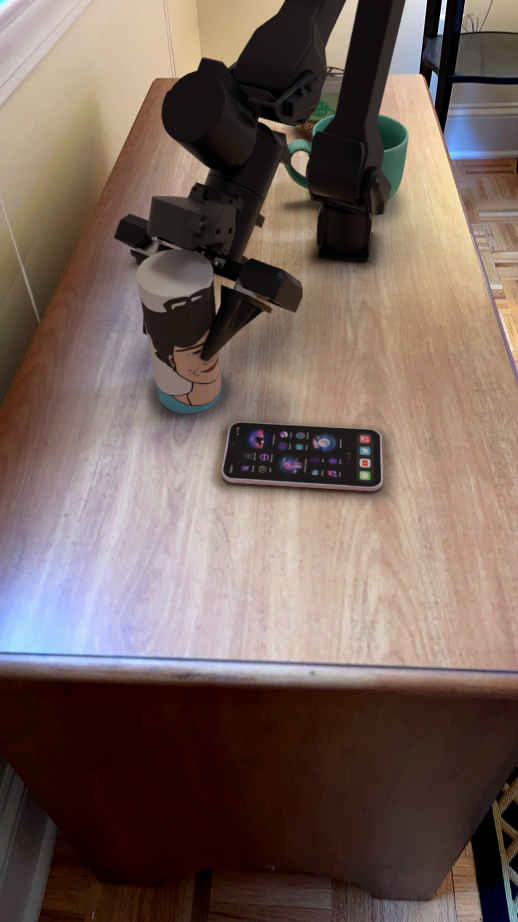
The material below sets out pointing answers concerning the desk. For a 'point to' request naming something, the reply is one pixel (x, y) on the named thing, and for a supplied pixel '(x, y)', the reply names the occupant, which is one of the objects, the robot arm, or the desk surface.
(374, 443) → the smartphone
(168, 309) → the cup
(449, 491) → the desk surface
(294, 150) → the mug
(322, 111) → the food container
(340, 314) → the desk surface
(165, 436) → the desk surface
